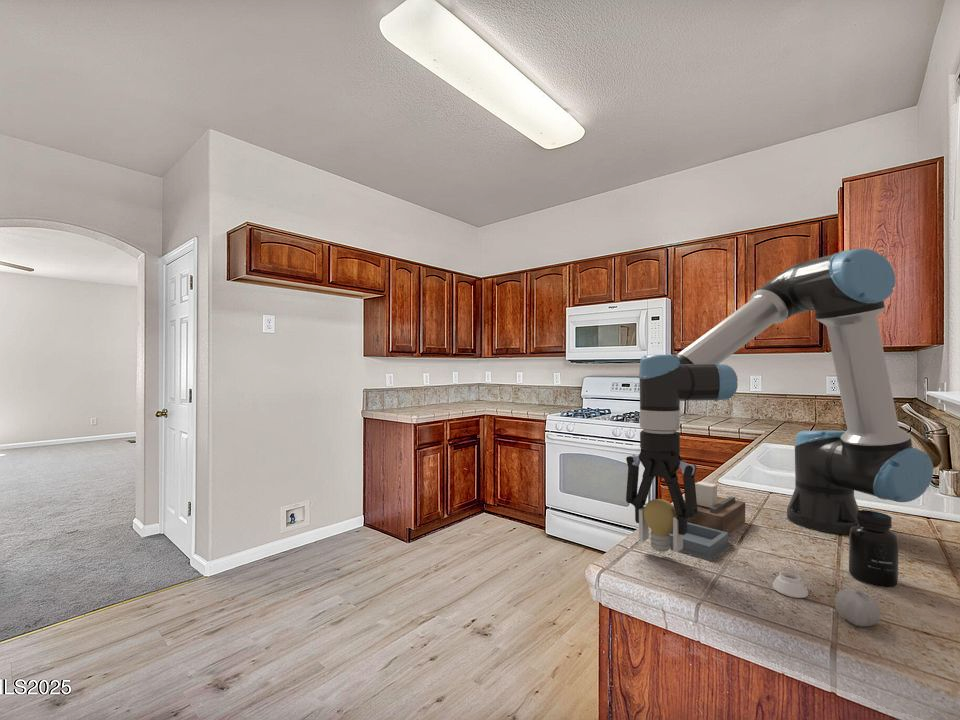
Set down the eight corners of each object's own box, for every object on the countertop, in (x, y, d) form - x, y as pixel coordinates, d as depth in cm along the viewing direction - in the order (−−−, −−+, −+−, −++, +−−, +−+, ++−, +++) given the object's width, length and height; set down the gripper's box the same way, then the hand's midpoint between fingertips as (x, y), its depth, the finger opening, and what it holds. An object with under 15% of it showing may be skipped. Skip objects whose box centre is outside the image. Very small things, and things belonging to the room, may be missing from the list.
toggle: (716, 505, 108) (717, 484, 108) (712, 508, 106) (712, 486, 106) (699, 501, 111) (699, 481, 111) (694, 504, 109) (694, 483, 109)
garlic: (890, 636, 65) (890, 600, 65) (845, 629, 66) (845, 594, 67) (868, 614, 71) (868, 581, 71) (827, 608, 72) (827, 576, 72)
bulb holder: (731, 544, 98) (731, 532, 98) (711, 561, 89) (711, 548, 89) (676, 529, 106) (676, 518, 106) (652, 543, 98) (653, 531, 98)
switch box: (745, 522, 112) (745, 498, 112) (722, 539, 101) (722, 512, 101) (699, 511, 120) (699, 489, 120) (673, 526, 109) (673, 501, 109)
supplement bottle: (881, 591, 78) (881, 521, 78) (839, 573, 85) (839, 509, 85) (908, 585, 80) (908, 518, 80) (865, 569, 87) (866, 506, 87)
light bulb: (681, 557, 87) (680, 505, 87) (646, 554, 89) (646, 503, 89) (673, 544, 94) (673, 496, 94) (641, 541, 95) (641, 494, 95)
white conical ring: (812, 602, 74) (803, 588, 79) (812, 584, 74) (803, 571, 79) (776, 596, 76) (770, 583, 81) (776, 579, 76) (769, 566, 81)
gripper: (717, 433, 87) (718, 553, 87) (624, 424, 101) (625, 527, 101) (702, 438, 82) (703, 565, 81) (607, 427, 96) (608, 536, 95)
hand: (660, 544), depth 91 cm, fingers closed on light bulb, 6 cm apart
